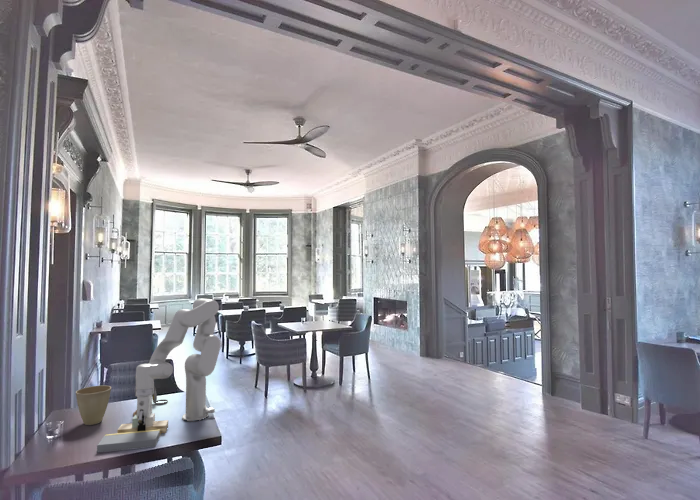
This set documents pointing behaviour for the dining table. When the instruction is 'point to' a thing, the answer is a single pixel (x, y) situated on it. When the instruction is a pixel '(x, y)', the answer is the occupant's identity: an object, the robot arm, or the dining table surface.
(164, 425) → the tan piece
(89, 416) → the plant pot
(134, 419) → the pale green block
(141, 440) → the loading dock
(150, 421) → the block
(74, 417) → the dining table surface
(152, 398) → the pocket watch
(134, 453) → the dining table surface
